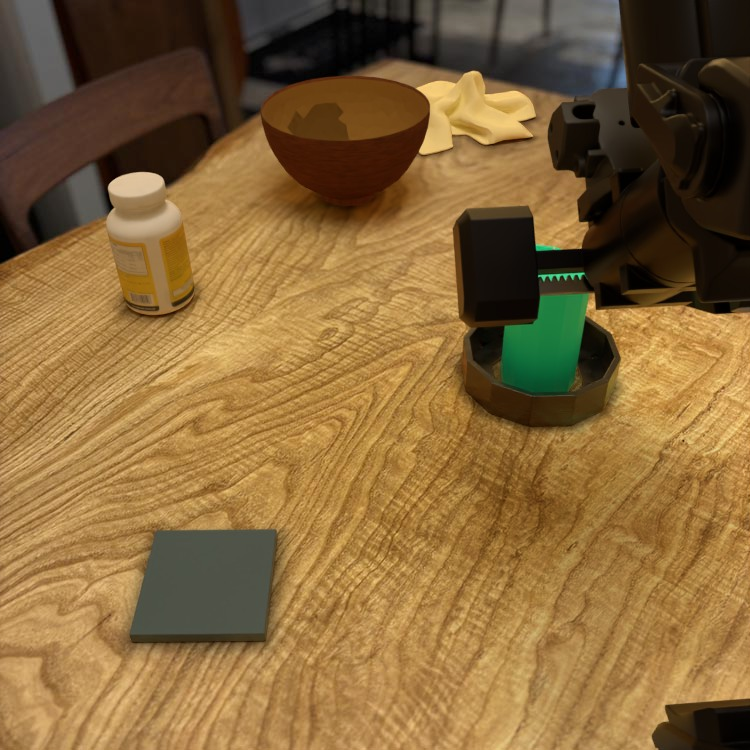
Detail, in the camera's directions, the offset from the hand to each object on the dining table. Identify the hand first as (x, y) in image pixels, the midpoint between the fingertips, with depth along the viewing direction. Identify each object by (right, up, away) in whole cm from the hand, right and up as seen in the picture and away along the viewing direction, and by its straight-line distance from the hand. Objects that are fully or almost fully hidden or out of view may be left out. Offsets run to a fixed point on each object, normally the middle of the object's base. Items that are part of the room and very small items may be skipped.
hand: (584, 291), depth 55 cm
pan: (0, 0, +21) cm, 21 cm away
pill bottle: (-33, +2, +25) cm, 41 cm away
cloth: (-2, +27, +56) cm, 62 cm away
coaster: (-24, -19, -1) cm, 30 cm away
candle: (0, -6, +15) cm, 16 cm away
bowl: (-16, +15, +40) cm, 46 cm away
